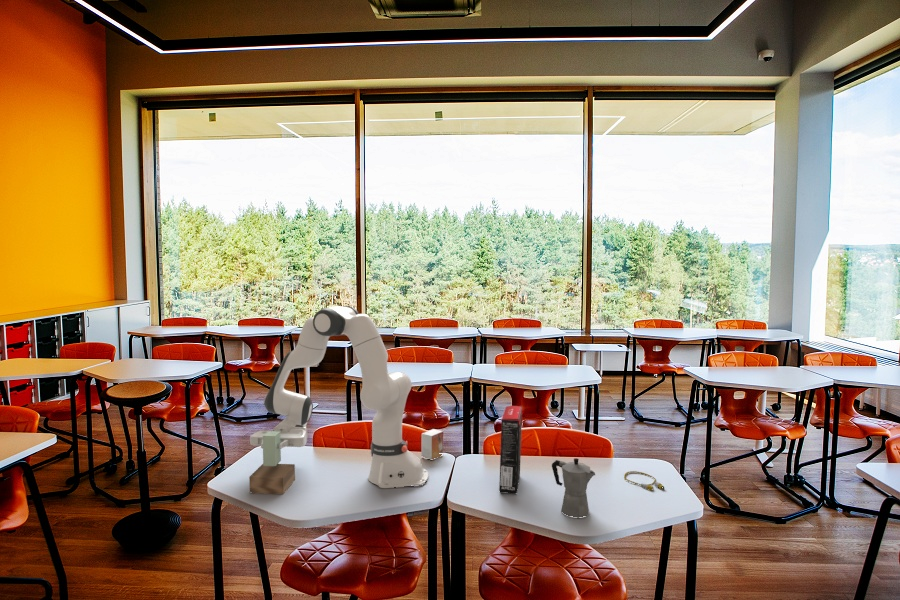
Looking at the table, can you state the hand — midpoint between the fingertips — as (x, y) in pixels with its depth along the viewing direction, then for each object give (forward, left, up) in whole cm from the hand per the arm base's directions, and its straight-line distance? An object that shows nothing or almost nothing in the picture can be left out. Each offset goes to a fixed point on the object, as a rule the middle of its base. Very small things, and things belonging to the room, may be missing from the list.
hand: (270, 446), depth 192 cm
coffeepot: (-105, +11, -15) cm, 107 cm away
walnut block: (0, -1, -15) cm, 15 cm away
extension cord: (-135, -14, -16) cm, 137 cm away
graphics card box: (-86, -8, -15) cm, 88 cm away
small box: (-55, -33, -15) cm, 66 cm away
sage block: (0, -1, -6) cm, 7 cm away
